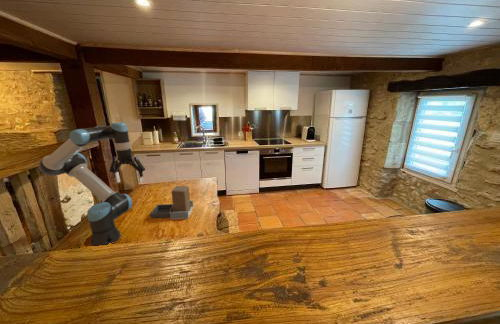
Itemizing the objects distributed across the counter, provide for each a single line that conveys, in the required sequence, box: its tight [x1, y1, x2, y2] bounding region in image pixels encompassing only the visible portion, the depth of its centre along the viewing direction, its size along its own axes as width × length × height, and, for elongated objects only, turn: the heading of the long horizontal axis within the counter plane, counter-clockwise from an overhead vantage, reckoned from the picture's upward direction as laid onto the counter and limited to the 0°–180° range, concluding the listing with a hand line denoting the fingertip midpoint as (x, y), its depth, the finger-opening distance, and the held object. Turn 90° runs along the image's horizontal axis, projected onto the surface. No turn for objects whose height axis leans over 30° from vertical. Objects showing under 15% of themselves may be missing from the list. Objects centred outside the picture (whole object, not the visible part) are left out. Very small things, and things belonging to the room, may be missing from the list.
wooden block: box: [171, 185, 191, 212], centre depth 153 cm, size 10×10×20 cm
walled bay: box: [170, 200, 194, 220], centre depth 156 cm, size 13×18×6 cm
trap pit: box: [150, 203, 174, 219], centre depth 155 cm, size 14×14×4 cm
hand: (129, 182), depth 126 cm, fingers open, 13 cm apart
